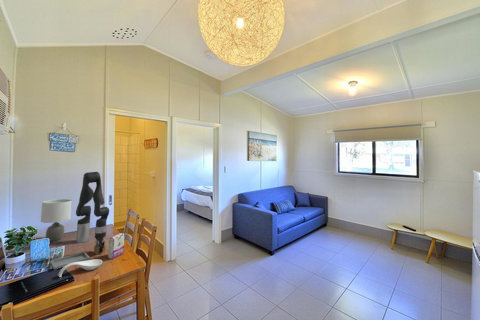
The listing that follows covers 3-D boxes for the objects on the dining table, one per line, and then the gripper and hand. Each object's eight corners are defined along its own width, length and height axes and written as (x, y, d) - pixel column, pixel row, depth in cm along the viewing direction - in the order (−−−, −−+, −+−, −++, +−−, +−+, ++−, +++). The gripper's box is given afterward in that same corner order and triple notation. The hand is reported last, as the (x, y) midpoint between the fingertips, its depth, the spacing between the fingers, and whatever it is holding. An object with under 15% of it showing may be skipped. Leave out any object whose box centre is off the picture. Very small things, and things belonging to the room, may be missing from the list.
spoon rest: (99, 262, 146) (100, 252, 146) (104, 268, 138) (105, 258, 138) (57, 274, 128) (57, 264, 128) (59, 282, 120) (60, 270, 121)
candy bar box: (119, 252, 162) (120, 232, 163) (124, 253, 161) (125, 233, 162) (107, 258, 151) (108, 237, 152) (112, 259, 150) (114, 238, 151)
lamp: (73, 234, 197) (75, 198, 198) (62, 242, 178) (65, 202, 179) (47, 236, 190) (49, 199, 191) (33, 244, 170) (36, 203, 172)
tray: (50, 263, 140) (50, 260, 141) (84, 254, 156) (84, 251, 156) (53, 271, 132) (54, 267, 132) (89, 260, 147) (89, 257, 148)
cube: (93, 252, 160) (94, 245, 160) (102, 250, 165) (102, 243, 165) (96, 255, 156) (96, 247, 157) (104, 252, 161) (105, 245, 161)
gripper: (92, 230, 163) (91, 250, 162) (98, 234, 154) (96, 255, 153) (103, 228, 169) (101, 247, 168) (108, 232, 160) (107, 252, 159)
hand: (99, 251), depth 161 cm, fingers closed on cube, 6 cm apart
